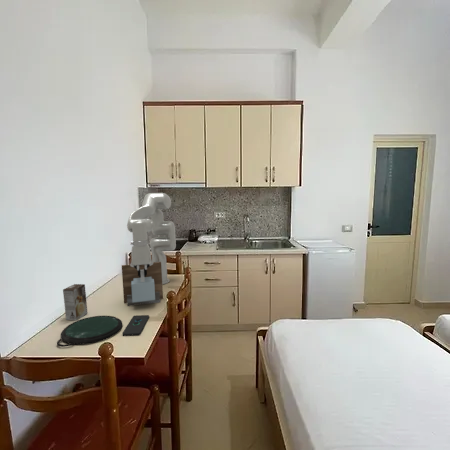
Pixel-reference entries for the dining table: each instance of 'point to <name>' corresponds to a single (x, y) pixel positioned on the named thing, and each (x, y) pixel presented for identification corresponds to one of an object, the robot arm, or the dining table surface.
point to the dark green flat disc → (90, 330)
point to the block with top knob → (143, 288)
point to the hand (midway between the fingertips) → (142, 276)
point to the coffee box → (75, 301)
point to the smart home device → (136, 325)
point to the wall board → (131, 273)
